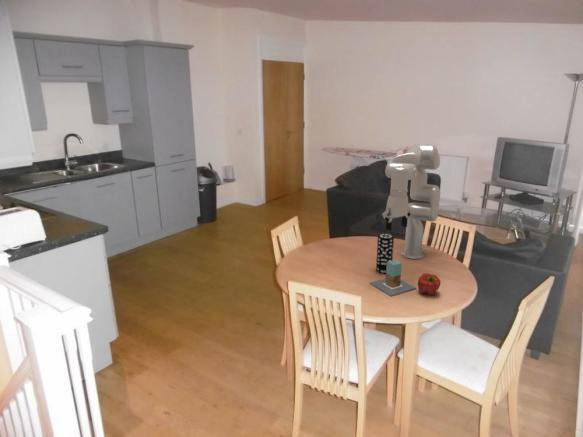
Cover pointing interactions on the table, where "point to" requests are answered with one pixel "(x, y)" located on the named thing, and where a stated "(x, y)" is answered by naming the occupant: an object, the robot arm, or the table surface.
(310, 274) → the table surface
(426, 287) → the vegetable
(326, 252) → the table surface
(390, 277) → the walnut block
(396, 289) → the slate mat
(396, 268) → the teal block
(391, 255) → the white-spotted black cylinder
